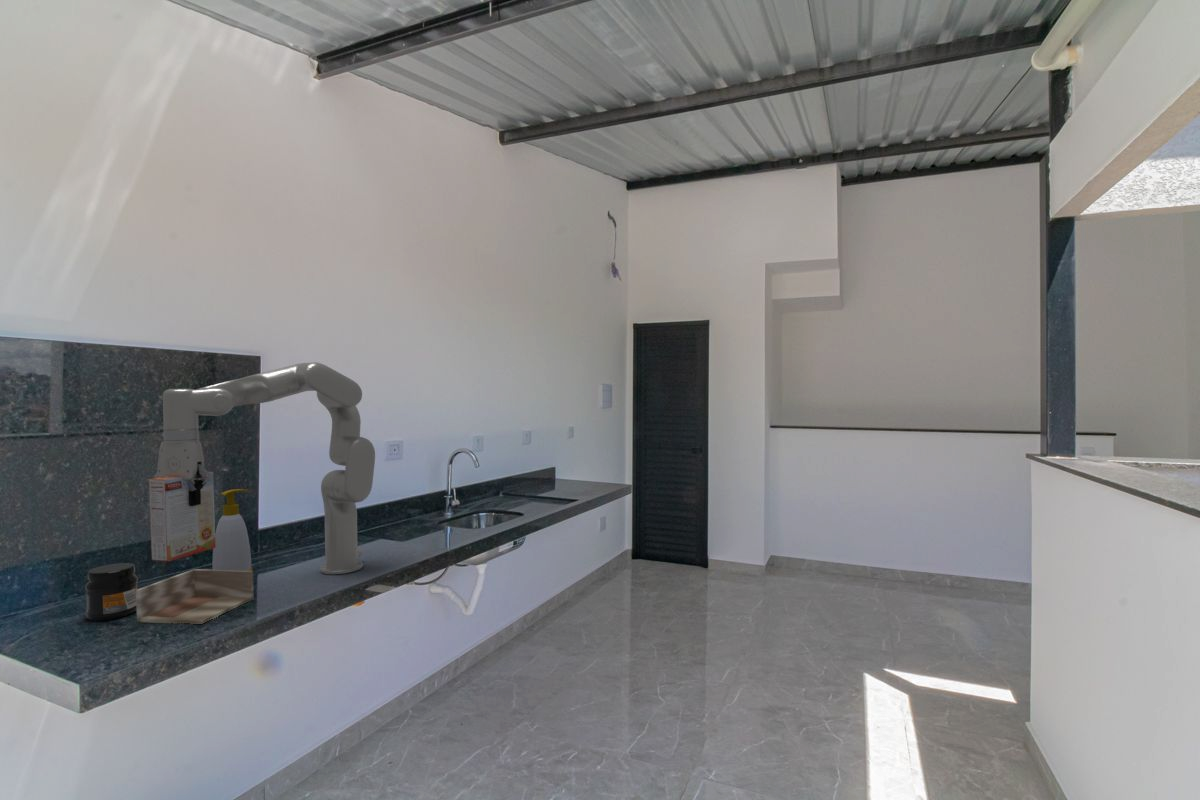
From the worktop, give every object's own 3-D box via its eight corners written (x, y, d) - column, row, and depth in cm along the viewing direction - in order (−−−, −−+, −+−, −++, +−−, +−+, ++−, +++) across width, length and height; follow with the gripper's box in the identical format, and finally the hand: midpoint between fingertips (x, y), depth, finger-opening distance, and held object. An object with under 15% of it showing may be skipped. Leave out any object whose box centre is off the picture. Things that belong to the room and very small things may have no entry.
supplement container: (141, 614, 158) (140, 567, 158) (88, 625, 151) (87, 576, 151) (135, 604, 166) (133, 560, 166) (84, 614, 159) (82, 568, 158)
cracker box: (199, 547, 168) (197, 470, 168) (216, 548, 167) (215, 471, 167) (149, 560, 155) (147, 477, 155) (167, 562, 153) (166, 478, 153)
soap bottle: (259, 572, 194) (257, 489, 194) (217, 581, 185) (216, 494, 185) (246, 566, 201) (244, 486, 201) (206, 574, 193) (204, 490, 192)
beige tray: (194, 597, 171) (193, 568, 171) (253, 600, 168) (252, 570, 168) (136, 621, 153) (136, 589, 153) (202, 624, 150) (201, 592, 150)
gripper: (139, 437, 158) (140, 507, 158) (200, 437, 155) (201, 508, 156) (163, 435, 165) (165, 502, 166) (222, 435, 163) (223, 502, 163)
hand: (182, 504), depth 161 cm, fingers closed on cracker box, 6 cm apart
